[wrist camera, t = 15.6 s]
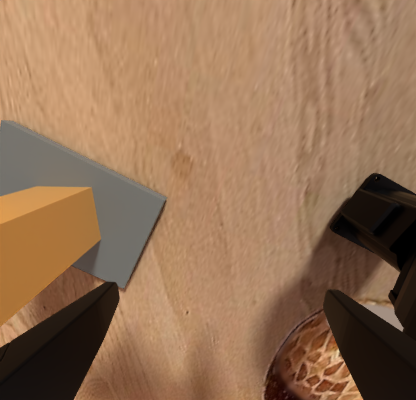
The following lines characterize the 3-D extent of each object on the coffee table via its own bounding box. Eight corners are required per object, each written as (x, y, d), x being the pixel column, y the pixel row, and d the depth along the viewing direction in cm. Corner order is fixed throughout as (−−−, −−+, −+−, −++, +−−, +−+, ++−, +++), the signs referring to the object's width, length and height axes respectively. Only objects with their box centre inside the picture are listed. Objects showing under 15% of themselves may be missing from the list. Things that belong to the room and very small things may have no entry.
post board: (167, 197, 20) (152, 214, 16) (127, 282, 24) (107, 314, 20) (12, 120, 19) (-49, 116, 15) (-5, 223, 22) (-58, 244, 18)
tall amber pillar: (91, 187, 19) (-94, 262, 8) (101, 239, 21) (-41, 361, 10) (36, 186, 20) (-218, 257, 8) (50, 237, 21) (-145, 354, 10)
